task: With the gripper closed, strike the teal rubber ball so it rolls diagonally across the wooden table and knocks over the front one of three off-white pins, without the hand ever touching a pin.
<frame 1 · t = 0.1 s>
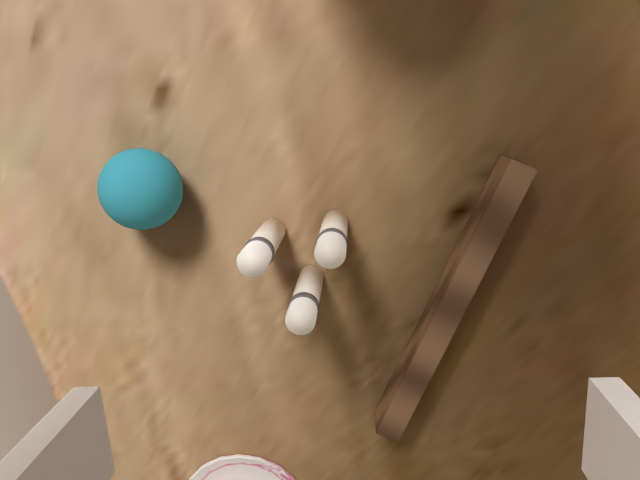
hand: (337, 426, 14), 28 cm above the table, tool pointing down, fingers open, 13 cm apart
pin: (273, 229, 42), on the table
pin 1: (335, 221, 41), on the table
teal ball: (141, 189, 38), on the table
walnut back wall: (444, 297, 42), on the table
pin 2: (311, 276, 43), on the table
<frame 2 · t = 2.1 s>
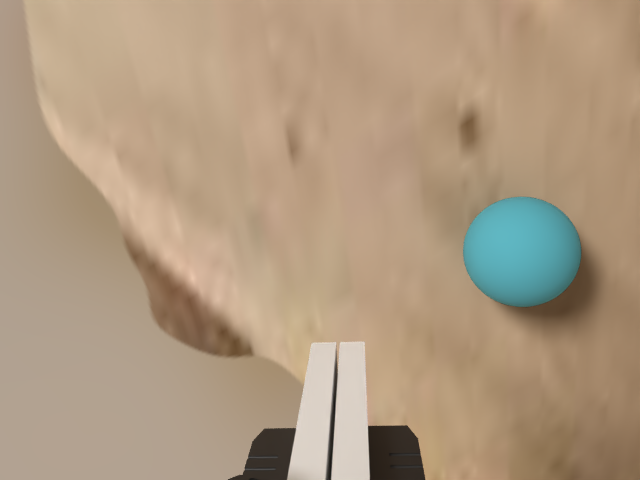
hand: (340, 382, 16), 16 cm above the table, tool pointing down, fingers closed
teal ball: (519, 251, 28), on the table
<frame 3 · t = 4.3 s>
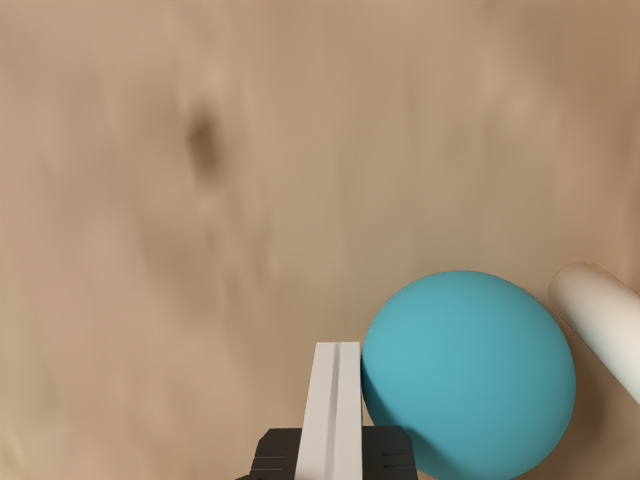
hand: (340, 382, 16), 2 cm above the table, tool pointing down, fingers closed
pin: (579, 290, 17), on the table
teal ball: (462, 372, 15), on the table, touching gripper
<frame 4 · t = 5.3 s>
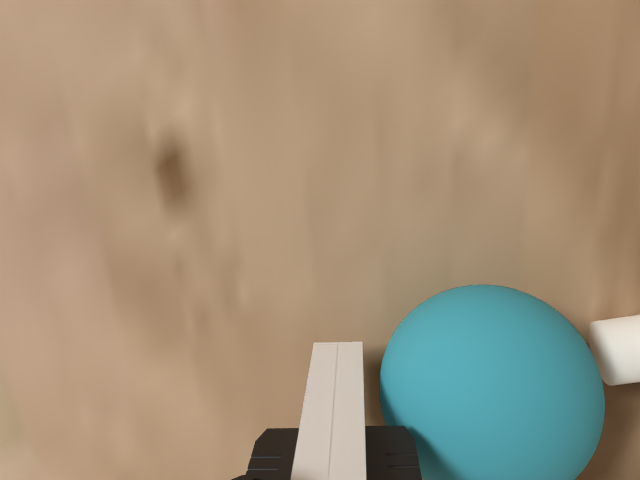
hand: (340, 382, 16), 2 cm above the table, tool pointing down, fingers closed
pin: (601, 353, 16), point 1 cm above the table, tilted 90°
teal ball: (485, 390, 15), on the table
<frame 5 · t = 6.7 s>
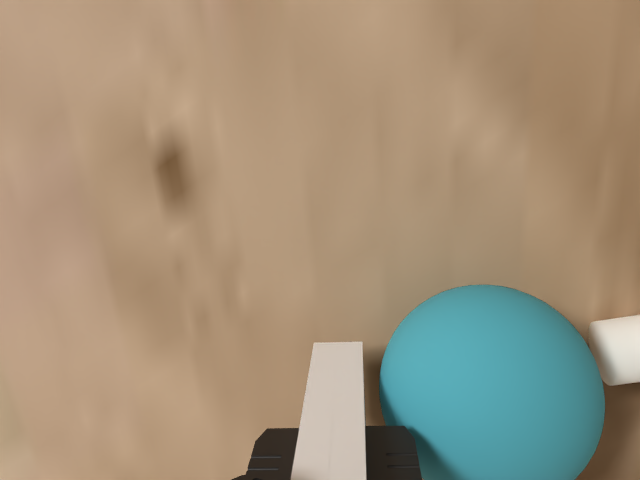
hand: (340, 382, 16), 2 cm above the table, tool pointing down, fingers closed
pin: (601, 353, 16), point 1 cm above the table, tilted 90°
teal ball: (485, 390, 15), on the table
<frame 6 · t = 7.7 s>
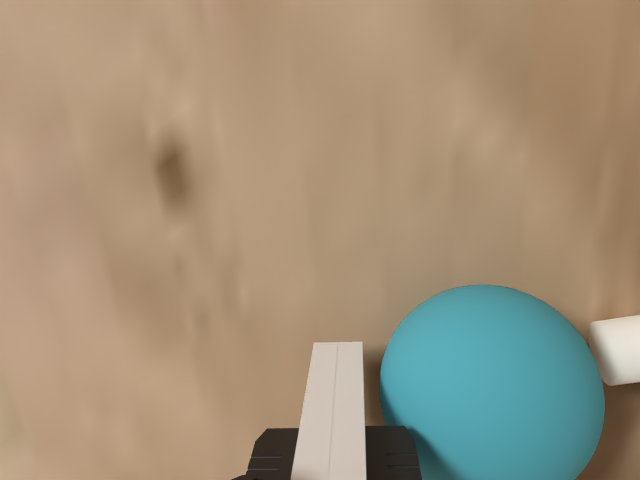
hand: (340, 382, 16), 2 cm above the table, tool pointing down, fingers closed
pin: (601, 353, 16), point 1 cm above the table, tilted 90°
teal ball: (485, 390, 15), on the table
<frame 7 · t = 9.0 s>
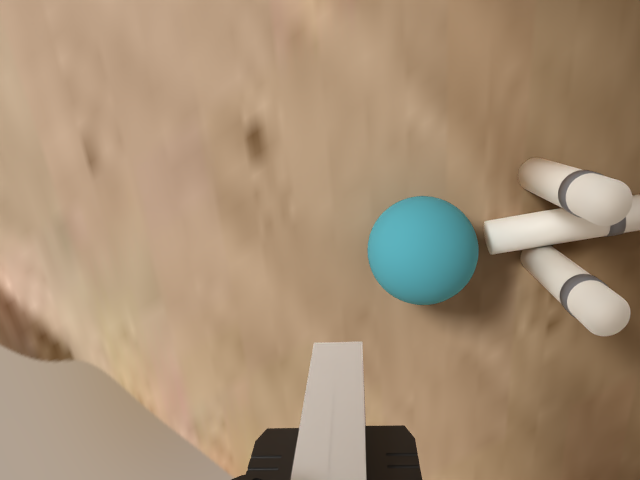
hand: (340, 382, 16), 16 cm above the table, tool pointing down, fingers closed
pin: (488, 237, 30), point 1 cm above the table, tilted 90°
pin 1: (535, 174, 30), on the table
teal ball: (421, 250, 29), on the table
pin 2: (537, 256, 31), on the table
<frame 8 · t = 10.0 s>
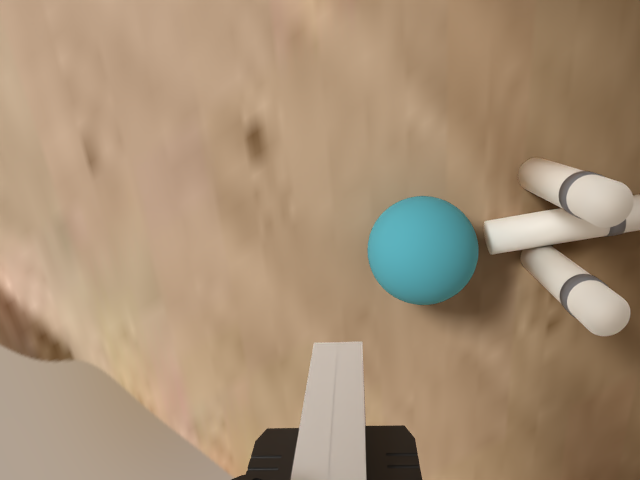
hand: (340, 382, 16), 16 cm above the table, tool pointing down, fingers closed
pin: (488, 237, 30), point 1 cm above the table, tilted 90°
pin 1: (535, 174, 30), on the table
teal ball: (421, 250, 29), on the table
pin 2: (537, 256, 31), on the table
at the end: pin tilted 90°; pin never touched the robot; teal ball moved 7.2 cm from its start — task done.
